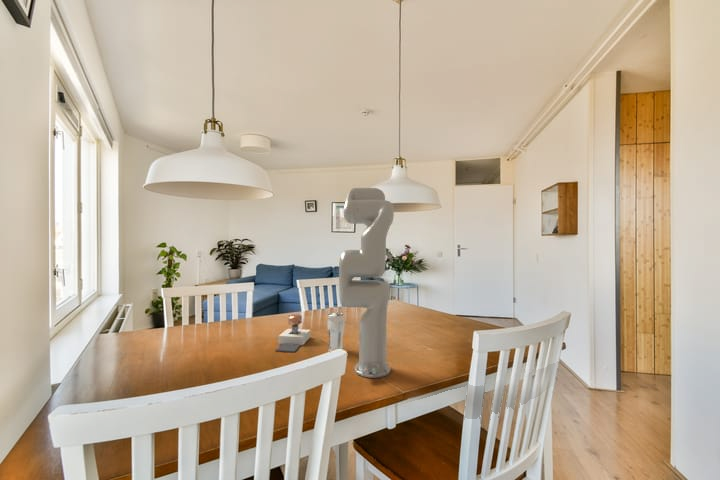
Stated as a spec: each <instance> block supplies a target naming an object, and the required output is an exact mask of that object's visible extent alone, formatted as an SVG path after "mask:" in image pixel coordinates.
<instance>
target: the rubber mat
mask: <svg viewBox="0 0 720 480" xmlns="http://www.w3.org/2000/svg"><path fill="white" fill-rule="evenodd" d="M301 346H302V345H300V344H280V345H279V346H278V347H277V348H276V349H275V352H277V353H279V352H280V353H291V354H292V353H296V352H297V351H298V349H299V348H301Z"/></svg>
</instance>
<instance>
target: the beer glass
mask: <svg viewBox="0 0 720 480" xmlns="http://www.w3.org/2000/svg"><path fill="white" fill-rule="evenodd" d="M344 332H345V314H344V313H343V312H330V313H327V333H328V340H329V341H328V342H329V344H328V348H327V349H328V350H327V351H328V352H329V351H332V350H335V349H343V350H344V347H343V337H344Z"/></svg>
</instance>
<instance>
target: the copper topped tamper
mask: <svg viewBox="0 0 720 480" xmlns="http://www.w3.org/2000/svg"><path fill="white" fill-rule="evenodd" d="M287 320H288V322H287V324H288V325H291V329H292V334H296V335H298V329H299V325H301V324H302V323H303V316H302V315H301V314H291V315H288V316H287Z"/></svg>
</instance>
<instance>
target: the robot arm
mask: <svg viewBox="0 0 720 480" xmlns="http://www.w3.org/2000/svg"><path fill="white" fill-rule="evenodd" d="M394 210H395V207H394V204H393V203H392V202H391V201H389V200H387V199H386V196H385V192H383V190H382V189H380V188H377V187H353V188H351V189H350V190H349V191H348V192H347V195H346V197H345V202H344V207H343V217H344V220H345V221H346V222H347V223H348V224H353V225H354V224H357V225H359V224H360V225H361V224H362V225H364V226H366V228H365V229H364V231H363V232H362V234H361V236H360V249H348V250H347V249H346V250H344V251H343V252H342V253H341V254H340V256H339V263H338V265H339V266H338V282H339V283H338V285H339V286H338V291H339V292H338V296H339V298H338V299H339V302H340V305H341V306H343V307H345V308H358V309H359V308H360V309H361V308H363V309H366V310H365V311H364V312H363V313H362V314H361V316H360V319H359V324H358V325H359V327H358V329H359V331H358V332H359V333H358V335H359V337H358V338H359V339H358V340H359V341H358V343H359V344H358V363H356V364H355V366H354V372H355V373H356V374H357V375H359V376H361V377H363V378H369V379H370V378H371V379H372V378H373V379H376V378H384V377H386V376H388V375H389V374H390V373H391V369H392V368H391V366H390V365H389V364H388V363H387V317H388V316H387V315H388V305H389V298H390V286H389V285H388V284H387V283H386V282H384V281H381V280H378V279H377V280H376V279H375V280H374V279H372V280H371V279H362V280H361V279H354V278H380V277H382V276H383V275H384V274H385V272H386V271H387V264H388V263H389V262H390V261H391V259H392V257H393V255H392V254H391V253H389V252H387V251H386V250H387V244H386V243H387V236H388V232H389V229H390V228H391V225H393V221H394V216H395V215H394ZM386 256H387V257H388V258H387V257H386Z"/></svg>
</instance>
